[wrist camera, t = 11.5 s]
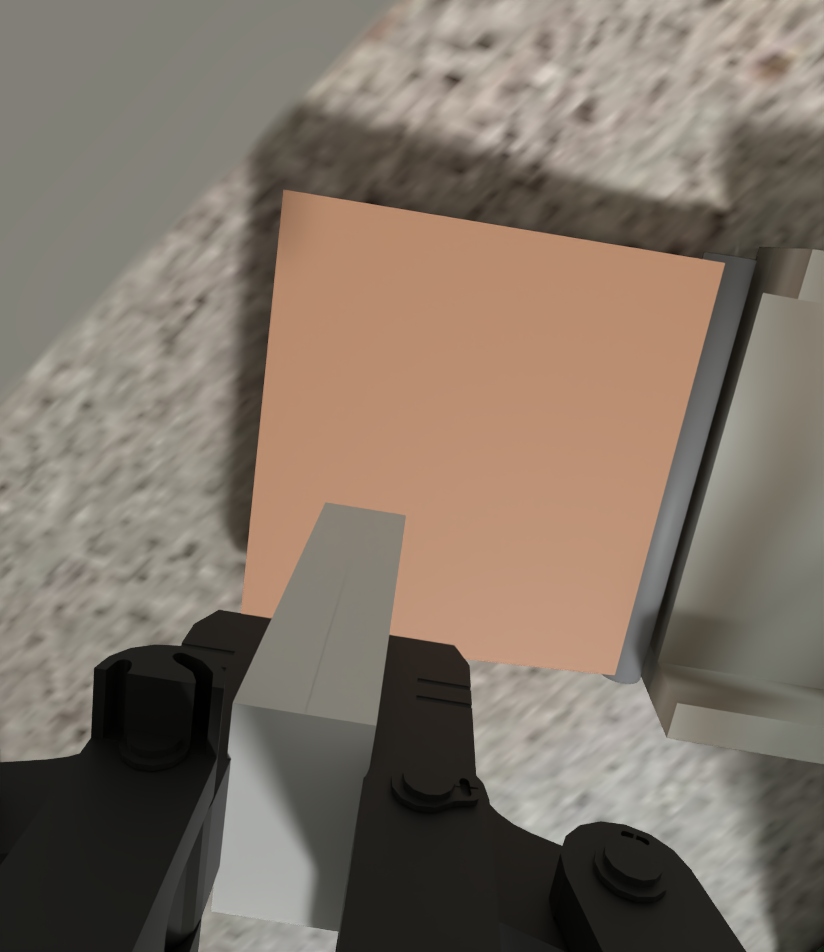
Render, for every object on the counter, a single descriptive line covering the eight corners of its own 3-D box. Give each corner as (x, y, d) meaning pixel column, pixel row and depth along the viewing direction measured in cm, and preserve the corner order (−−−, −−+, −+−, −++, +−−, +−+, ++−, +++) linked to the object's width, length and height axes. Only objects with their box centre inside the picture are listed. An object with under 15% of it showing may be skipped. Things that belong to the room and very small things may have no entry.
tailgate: (632, 662, 26) (244, 619, 25) (742, 259, 22) (289, 183, 21) (646, 686, 25) (237, 641, 24) (766, 261, 21) (283, 180, 20)
